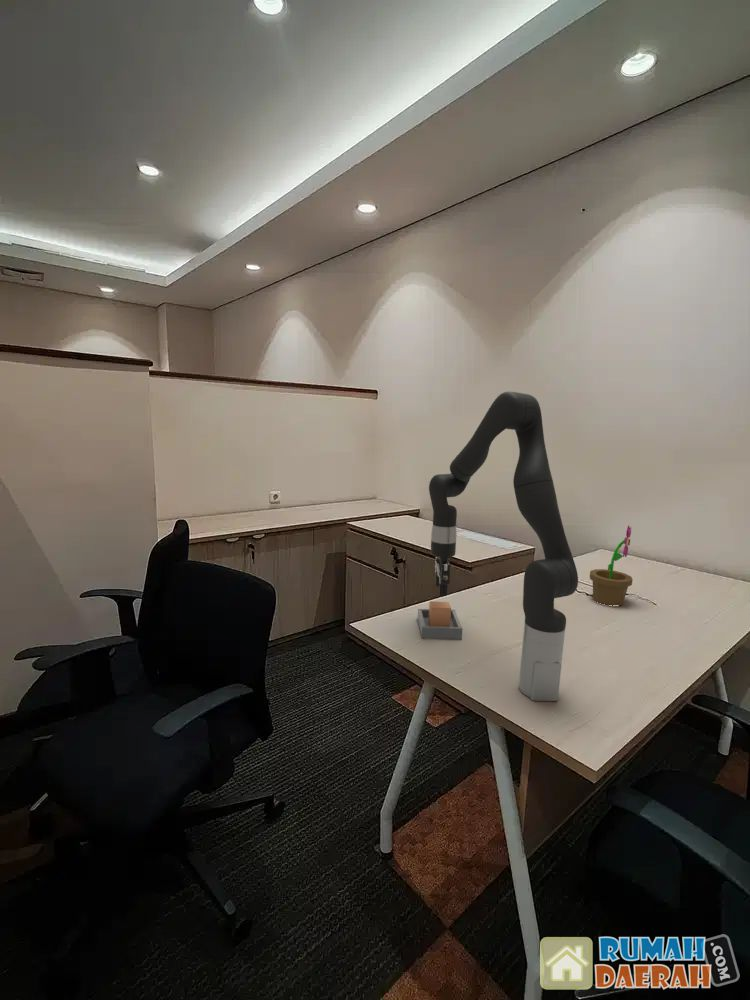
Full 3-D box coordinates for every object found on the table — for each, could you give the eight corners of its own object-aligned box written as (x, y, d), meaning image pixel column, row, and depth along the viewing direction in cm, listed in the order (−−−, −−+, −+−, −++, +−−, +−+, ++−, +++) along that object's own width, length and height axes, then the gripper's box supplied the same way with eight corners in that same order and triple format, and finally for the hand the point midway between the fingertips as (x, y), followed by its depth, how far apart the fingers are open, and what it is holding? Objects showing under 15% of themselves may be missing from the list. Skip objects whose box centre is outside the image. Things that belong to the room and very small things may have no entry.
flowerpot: (625, 612, 166) (636, 529, 161) (582, 602, 174) (591, 522, 169) (632, 600, 177) (642, 523, 172) (591, 591, 186) (600, 517, 181)
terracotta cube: (449, 629, 145) (451, 608, 144) (430, 629, 145) (431, 607, 144) (447, 622, 150) (448, 601, 149) (428, 622, 150) (429, 601, 149)
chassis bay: (461, 639, 141) (462, 628, 140) (421, 638, 141) (422, 627, 140) (453, 619, 155) (454, 609, 154) (417, 618, 155) (418, 608, 154)
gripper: (460, 545, 136) (457, 599, 138) (452, 534, 150) (449, 583, 152) (434, 545, 136) (431, 598, 138) (428, 533, 150) (426, 582, 152)
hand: (440, 590), depth 145 cm, fingers open, 8 cm apart
